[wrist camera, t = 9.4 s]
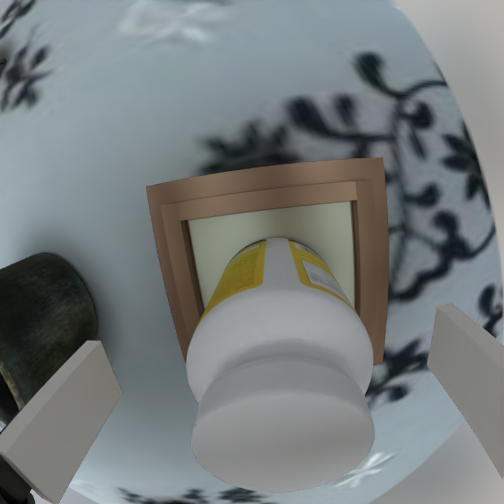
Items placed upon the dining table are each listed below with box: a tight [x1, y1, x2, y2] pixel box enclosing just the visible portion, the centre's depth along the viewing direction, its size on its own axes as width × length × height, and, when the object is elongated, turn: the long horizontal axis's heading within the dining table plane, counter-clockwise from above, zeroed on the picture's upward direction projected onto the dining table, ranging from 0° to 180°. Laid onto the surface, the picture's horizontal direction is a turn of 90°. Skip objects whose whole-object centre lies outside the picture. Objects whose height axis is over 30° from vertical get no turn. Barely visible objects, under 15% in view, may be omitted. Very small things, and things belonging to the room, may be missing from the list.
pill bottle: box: [186, 238, 375, 492], centre depth 11 cm, size 6×6×12 cm
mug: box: [0, 253, 96, 425], centre depth 17 cm, size 11×15×12 cm
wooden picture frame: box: [146, 157, 389, 365], centre depth 18 cm, size 14×14×4 cm
